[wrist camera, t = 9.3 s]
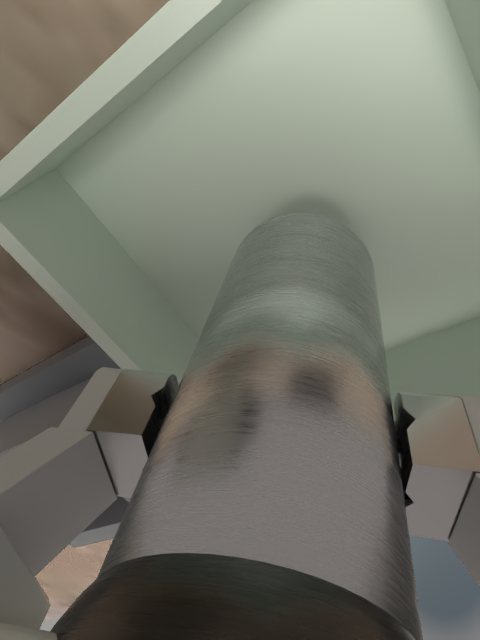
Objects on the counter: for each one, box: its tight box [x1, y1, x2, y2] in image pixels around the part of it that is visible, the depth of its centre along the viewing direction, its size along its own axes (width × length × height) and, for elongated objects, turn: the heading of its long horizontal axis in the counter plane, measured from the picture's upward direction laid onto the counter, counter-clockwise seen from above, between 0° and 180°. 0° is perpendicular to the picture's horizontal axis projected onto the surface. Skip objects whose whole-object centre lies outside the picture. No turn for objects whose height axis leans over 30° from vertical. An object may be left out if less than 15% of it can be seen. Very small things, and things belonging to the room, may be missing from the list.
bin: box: [0, 0, 480, 421], centre depth 14 cm, size 13×13×4 cm
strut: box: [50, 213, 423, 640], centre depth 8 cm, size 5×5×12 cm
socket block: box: [0, 336, 131, 548], centre depth 22 cm, size 10×10×4 cm
